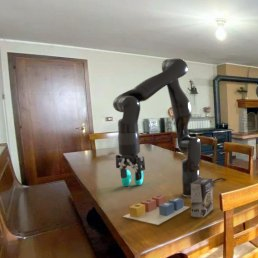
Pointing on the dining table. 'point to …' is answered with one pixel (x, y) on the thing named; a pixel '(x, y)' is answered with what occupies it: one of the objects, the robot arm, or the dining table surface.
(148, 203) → the left block
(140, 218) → the board
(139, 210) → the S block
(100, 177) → the dining table surface
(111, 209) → the dining table surface
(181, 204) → the right block
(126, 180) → the donuts
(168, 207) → the right block
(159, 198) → the left block
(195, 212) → the coffee box
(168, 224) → the dining table surface
